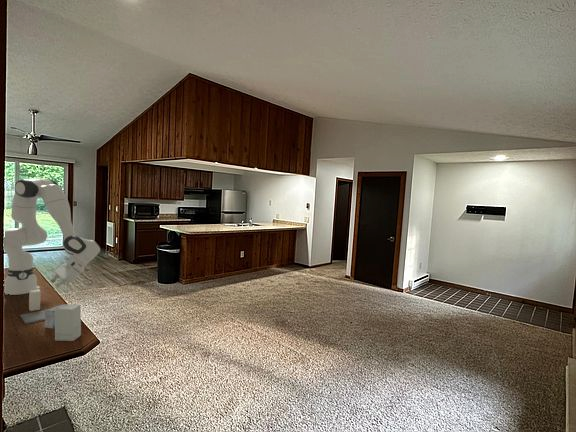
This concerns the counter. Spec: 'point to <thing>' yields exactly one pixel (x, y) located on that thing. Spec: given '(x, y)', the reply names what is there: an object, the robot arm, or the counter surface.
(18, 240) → the robot arm
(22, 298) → the counter surface
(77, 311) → the skincare box
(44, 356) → the counter surface
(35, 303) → the cream block
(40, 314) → the mat
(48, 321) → the medicine box
